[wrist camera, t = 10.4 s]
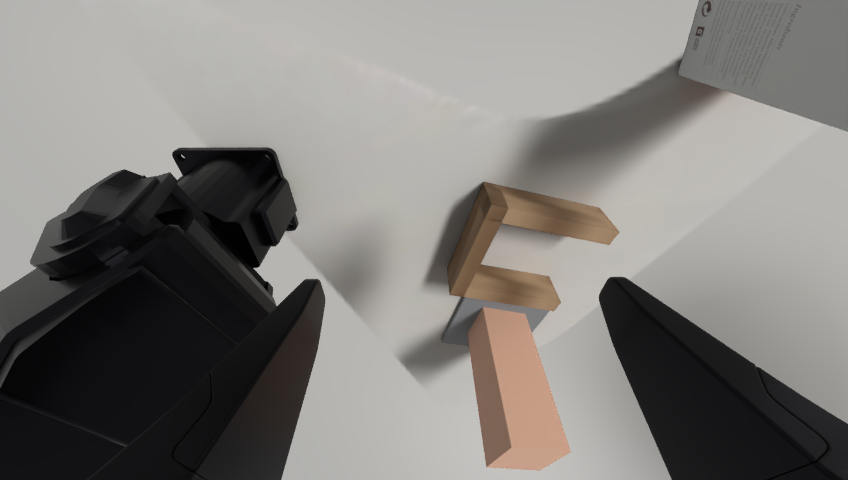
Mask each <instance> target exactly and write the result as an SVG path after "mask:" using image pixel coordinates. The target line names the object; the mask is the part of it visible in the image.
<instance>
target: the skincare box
mask: <svg viewBox="0 0 848 480" xmlns="http://www.w3.org/2000/svg"><path fill="white" fill-rule="evenodd" d="M679 75H680V76H682V77H686V78H689V79H691V80H694V81H697V82H700V83H704V84H706V85H709V86H712V87H716V88H719V89H721V90H725V91H728V92H731V93H733V94H737V95H740V96H742V97H745V98H749V99H751V100H754V101H757V102H760V103H763V104H766V105H769V106H772V107H775V108H778V109H782V110H785V111H787V112H790V113H794V114H797V115H799V116H802V117H805V118H808V119H811V120H814V121H817V122H820V123H823V124H826V125H829V126H833V127H836V128H839V129H842V130H844V131H847V132H848V0H699V3H698V6H697V10H696V13H695V17H694V21H693V24H692V28H691V31H690V34H689V38H688V42H687V45H686V49H685V52H684V55H683V58H682V62H681V65H680V68H679Z"/></svg>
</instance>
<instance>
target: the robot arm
mask: <svg viewBox="0 0 848 480" xmlns="http://www.w3.org/2000/svg"><path fill="white" fill-rule="evenodd" d="M265 154H268V155H269V156H270V157H271V159H270V158H267V157H266V156H265ZM181 155H183V156H184V157H185V158H183V157H182V156H181ZM172 156H173V158H174V160H175V162H176V164H177V166H178V167H179V169H180V171H181V173H182V175H183V176H182V177H180V178H179V179H178V180H176V179H175V177H174V176H173V175H172V174H171V173H166V174H163V175H159V176H154V177H149V178H147V177H145V176H141V175H138V174H135V173H133V172H130V171H127V170H121V171H118V172H115V173H113V174H111V175H109V176H108V177H106V178H104V179H103V180H101V181H99V182H98V183H96V184H95V185H93V186H91V187H90V188H89V189H87V190H86V191H84V192H83V193H82V194H81V195H80V196H79V197H78V198H77V199H76V200H75V201H74V203H72V204H71V205H70V206H69V208H68V209H67V211H66V212H64V213H62V214H60V215H58V216H57V217H55V218H53V219H51V220H50V221H48V222H47V224H46V226H45V228H44V230H43V233H42V235H41V237H40V240H39V242H38V244H37V246H36V249H35V251H34V253H33V256H32V258H31V260H30V263H31V264H32V265H33V266H34V267H36V269H35V270H33V271H32V272H30V273H29V274H27V275H26V276H24V277H23V278H21V279H19V280H18V281H16V282H15V283H13V284H12V285H10V286H8V287H7V288H5V289H4V290H2V291H1V292H0V480H281V478H282V475H283V471H284V467H285V464H286V460H287V456H288V453H289V450H290V446H291V443H292V439H293V435H294V432H295V428H296V425H297V421H298V418H299V414H300V411H301V407H302V404H303V400H304V396H305V393H306V389H307V386H308V382H309V379H310V375H311V372H312V368H313V364H314V361H315V357H316V353H317V349H318V344H319V338H320V332H321V326H322V319H323V313H324V307H325V295H324V292H323V289H322V285H321V282H320V280H318V279H306V280H304V281H303V282H302V283H301V284H300V285H299V286H298V287H297V288H296V289H295V290H294V291H293V292H291V293H290V295H288V296H287V297H286V298H285V299H284V300H283V301H282V302H281V303H280V304H279V305H278V306H276V304H275V301H274V298H273V297H272V295H273V287H272V286H271V285H270V284H269V283H268V282H265V281H264V280H263V279H262V278H261V276H260V275H259V274H258V273H257V272H256V271H255V270H254V269H253V268H257V267H259V266H260V264H261V263H262V261H263V259H264V257H265V256H266V254H267V252H268V250H269V248H270V247H271V246H276V245H277V244H278V243H279V242H280V240H281V238H282V236H283V234H284V232H285V231H293V230H295V229H296V228H297V226H298V220H297V217H296V214H295V212H296V210H297V209H296V206H295V203H294V199H293V196H292V193H291V190H290V187H289V183H288V181H287V180H286V179H285V178H284V176H283V173H282V170H281V167H280V164H279V160H278V157H277V154H276V153H275V151H274V150H272V149H270V148H178V149H177V150H175V151H174V152H173V154H172ZM289 223H292V224H293V225H291V224H289ZM599 302H600V305H601V308H602V311H603V315H604V318H605V321H606V324H607V327H608V330H609V334H610V337H611V340H612V343H613V346H614V348H615V350H616V353H617V355H618V358H619V360H620V362H621V364H622V367H623V369H624V371H625V374H626V376H627V378H628V380H629V383H630V385H631V387H632V389H633V392H634V394H635V396H636V399H637V401H638V403H639V406H640V408H641V410H642V412H643V415H644V417H645V419H646V422H647V424H648V425H649V428H650V431H651V433H652V435H653V438H654V440H655V442H656V444H657V447H658V449H659V451H660V454H661V456H662V458H663V460H664V463H665V465H666V467H667V469H668V472H669V474H670V476H671V479H672V480H848V424H847V423H845V422H844V421H842V420H840V419H839V418H837V417H835V416H834V415H832V414H830V413H829V412H827V411H826V410H824V409H822V408H821V407H819V406H818V405H816V404H814V403H813V402H811V401H810V400H808V399H806V398H805V397H803V396H801V395H800V394H798V393H797V392H795V391H794V390H792V389H791V388H789V387H788V386H786V385H785V384H783V383H782V382H780V381H778V380H777V379H776V378H774V377H773V376H771V375H770V374H768V373H766V372H765V371H764V370H762V369H761V368H759V367H756V366H755V364H753V363H752V362H750V361H749V360H747V359H746V358H744V357H742V356H741V355H740V354H738V353H737V352H735V351H733V350H732V349H730V348H729V347H728V346H726V345H725V344H723V343H722V342H720V341H719V340H717V339H716V338H714V337H713V336H711V335H710V334H709V333H707V332H706V331H704V330H703V329H701V328H699V327H698V326H697V325H695V324H694V323H692V322H690V321H689V320H688V319H686V318H685V317H683V316H682V315H680V314H679V313H677V312H676V311H674V310H673V309H671V308H670V307H668V306H667V305H665V304H663V303H662V302H661V301H659V300H658V299H656V298H655V297H653V296H652V295H650V294H649V293H648V292H646V291H645V290H643V289H642V288H640V287H638V286H637V285H636V284H634V283H633V282H631V281H630V280H628V279H627V278H625V277H610V278H609V279H608V280H607V281H606V283H605V285H604V287H603V288H602V290H601V292H600V294H599Z"/></svg>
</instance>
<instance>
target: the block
mask: <svg viewBox="0 0 848 480" xmlns="http://www.w3.org/2000/svg"><path fill="white" fill-rule="evenodd" d="M467 334H468V341H469V348H470V355H471V362H472V369H473V376H474V383H475V390H476V397H477V404H478V411H479V417H480V425H481V432H482V439H483V446H484V452H485V460H486V467H493V468H509V469H524V470H541V469H543V468H545V467H546V466H548V465H550V464H551V463H553V462H555V461H556V460H558V459H560V458H561V457H563V456H565V455H566V454H568V453H570V452H571V451H570V448H569V445H568V442H567V439H566V436H565V433H564V430H563V427H562V424H561V421H560V418H559V414H558V411H557V408H556V405H555V402H554V399H553V396H552V393H551V390H550V387H549V384H548V381H547V378H546V375H545V372H544V369H543V366H542V363H541V360H540V357H539V354H538V351H537V348H536V345H535V342H534V339H533V336H532V333H531V329H530V326H529V323H528V320H527V317H526V314H524V313H517V312H511V311H505V310H498V309H492V308H485V307H483V308H482V310H481V311H480V313H479V315H478V316H477V318H476V320H475V321H474V323H473V325H472V326H471V328H470V330H469V331H468V333H467Z"/></svg>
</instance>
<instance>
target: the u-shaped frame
mask: <svg viewBox="0 0 848 480" xmlns="http://www.w3.org/2000/svg"><path fill="white" fill-rule="evenodd" d="M501 223H504V224H509V225H513V226H518V227H523V228H528V229H533V230H538V231H543V232H548V233H553V234H558V235H563V236H567V237H572V238H577V239H582V240H587V241H592V242H597V243H602V244H607V245H609V244H610V243H611V242H612V241H613V239H614V238H615V237H616V236H617V235H618V233H619V231H618V230H617V228H616V227H615V226H614V225H613V224H612V222H611V221H610V220H609V219H608V217H607V216H606V215H605V214H604V213H603V211H602V210H601V209H600V208H597V207H593V206H589V205H584V204H580V203H575V202H571V201H566V200H562V199H558V198H553V197H549V196H544V195H540V194H535V193H531V192H527V191H522V190H518V189H513V188H509V187H504V186H500V185H495V184H491V183H487V182H483V185H482V187H481V189H480V192H479V194H478V197H477V199H476V201H475V204H474V206H473V208H472V211H471V213H470V216H469V218H468V220H467V223H466V225H465V227H464V230H463V232H462V235H461V237H460V239H459V242H458V244H457V246H456V249H455V251H454V254H453V256H452V258H451V261H450V263H449V266H448V268H447V273H448V283H449V292H450V295H454V296H460V297H467V298H473V299H479V300H486V301H492V302H499V303H505V304H511V305H518V306H524V307H530V308H537V309H543V310H550V311H554V310H555V309H556V308H557V307H558V305H559V304H560V303H561V302H560V299H559V297H558V295H557V293H556V291H555V288H554V286H553V284H552V282H551V280H550V277H548V276H542V275H536V274H531V273H525V272H519V271H514V270H508V269H502V268H497V267H491V266H486V265H480V264H481V262H482V260H483V258H484V256H485V254H486V252H487V250H488V248H489V246H490V244H491V242H492V240H493V238H494V236H495V235H496V233H497V231H498V229H499V227H500V225H501Z"/></svg>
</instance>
